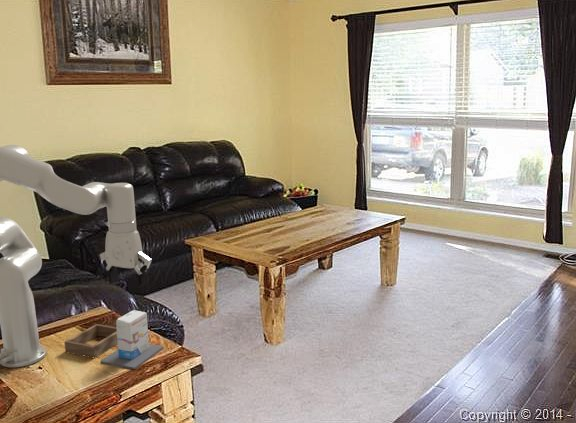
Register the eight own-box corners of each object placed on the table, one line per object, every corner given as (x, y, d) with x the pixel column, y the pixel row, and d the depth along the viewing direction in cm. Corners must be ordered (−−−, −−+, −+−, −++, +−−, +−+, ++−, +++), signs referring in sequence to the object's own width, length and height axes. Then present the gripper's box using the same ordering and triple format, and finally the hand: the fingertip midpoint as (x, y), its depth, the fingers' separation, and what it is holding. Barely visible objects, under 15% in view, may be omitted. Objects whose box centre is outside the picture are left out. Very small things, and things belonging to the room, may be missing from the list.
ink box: (132, 360, 161) (129, 322, 158) (118, 357, 162) (114, 320, 160) (150, 347, 168) (147, 311, 166) (136, 345, 170) (133, 309, 168)
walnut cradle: (94, 358, 164) (93, 347, 163) (65, 352, 168) (64, 341, 167) (125, 338, 176) (124, 328, 176) (97, 333, 180) (96, 323, 180)
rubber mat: (134, 369, 157) (134, 367, 156) (100, 362, 161) (100, 360, 161) (163, 348, 169) (163, 346, 169) (131, 342, 174) (131, 340, 174)
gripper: (89, 227, 157) (94, 285, 161) (139, 232, 151) (144, 292, 154) (106, 221, 164) (111, 277, 167) (156, 226, 157) (160, 283, 161)
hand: (127, 284), depth 161 cm, fingers open, 9 cm apart
